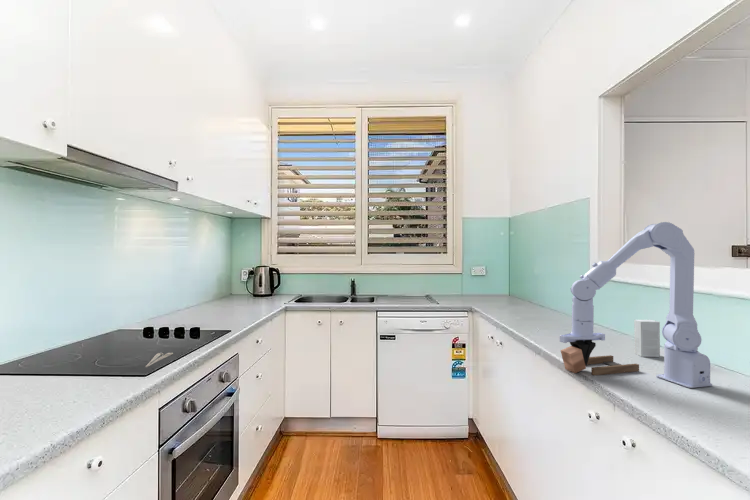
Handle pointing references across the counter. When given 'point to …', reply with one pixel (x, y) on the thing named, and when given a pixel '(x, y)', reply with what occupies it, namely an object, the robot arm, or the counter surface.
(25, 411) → the counter surface
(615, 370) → the walnut channel
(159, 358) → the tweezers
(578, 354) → the terracotta block
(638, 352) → the skincare box
